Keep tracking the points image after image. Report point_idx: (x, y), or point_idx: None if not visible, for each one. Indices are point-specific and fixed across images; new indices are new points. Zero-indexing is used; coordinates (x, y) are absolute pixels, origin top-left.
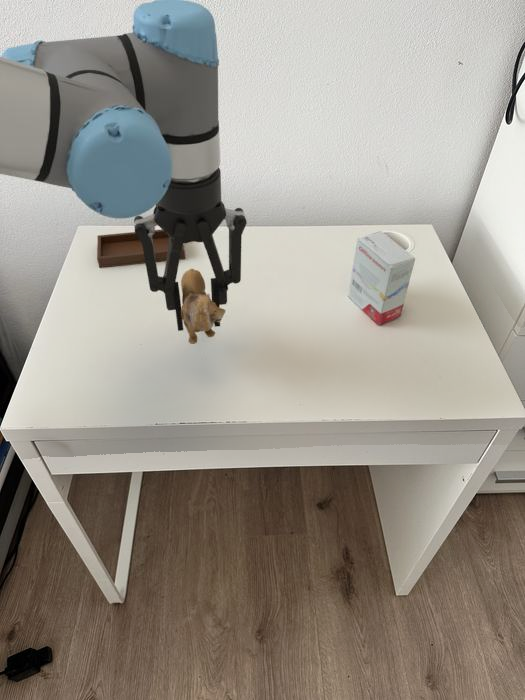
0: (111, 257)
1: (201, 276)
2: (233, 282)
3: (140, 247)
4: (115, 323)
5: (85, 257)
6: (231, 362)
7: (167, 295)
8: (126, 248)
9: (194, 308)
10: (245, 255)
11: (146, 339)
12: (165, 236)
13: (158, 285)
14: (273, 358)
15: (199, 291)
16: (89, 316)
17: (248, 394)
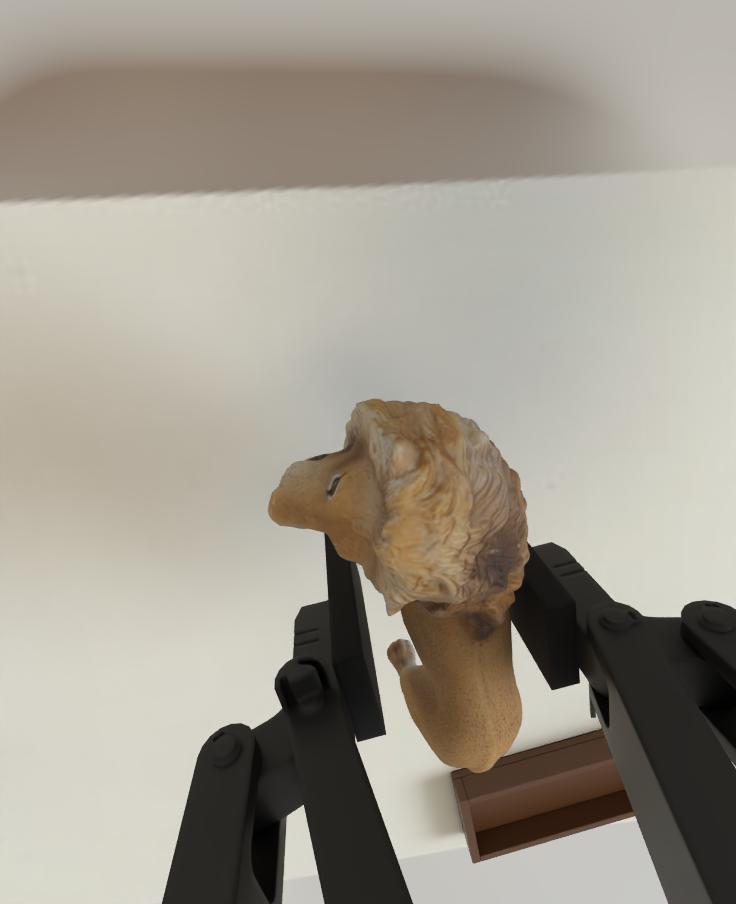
0: None
1: (430, 737)
2: (246, 729)
3: (562, 787)
4: (617, 551)
5: None
6: (286, 441)
7: (598, 599)
8: (595, 778)
9: (482, 472)
10: None
11: (537, 505)
12: (505, 828)
13: (705, 640)
14: (154, 467)
15: (434, 648)
16: (680, 566)
17: (213, 311)
